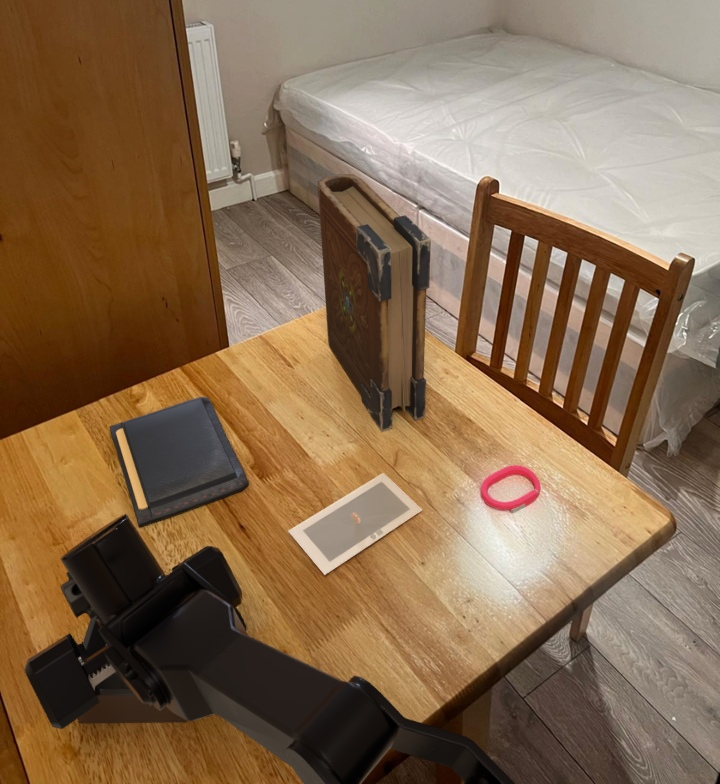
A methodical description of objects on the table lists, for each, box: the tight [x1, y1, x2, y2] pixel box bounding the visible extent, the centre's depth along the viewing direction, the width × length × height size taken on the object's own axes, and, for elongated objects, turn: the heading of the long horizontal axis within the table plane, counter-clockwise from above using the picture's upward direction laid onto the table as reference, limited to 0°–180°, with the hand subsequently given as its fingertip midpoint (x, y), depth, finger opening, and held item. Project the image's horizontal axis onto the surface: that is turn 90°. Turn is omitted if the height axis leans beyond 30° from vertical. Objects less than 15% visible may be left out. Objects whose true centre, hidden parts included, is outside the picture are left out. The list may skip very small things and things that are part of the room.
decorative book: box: [317, 173, 432, 433], centre depth 106 cm, size 23×7×30 cm, turn 24°
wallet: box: [109, 396, 250, 529], centre depth 101 cm, size 20×2×15 cm
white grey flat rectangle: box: [287, 472, 423, 576], centre depth 90 cm, size 8×15×2 cm, turn 127°
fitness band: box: [480, 464, 541, 514], centre depth 94 cm, size 8×6×2 cm
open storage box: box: [76, 616, 188, 724], centre depth 75 cm, size 11×11×6 cm
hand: (125, 621), depth 73 cm, fingers open, 9 cm apart
